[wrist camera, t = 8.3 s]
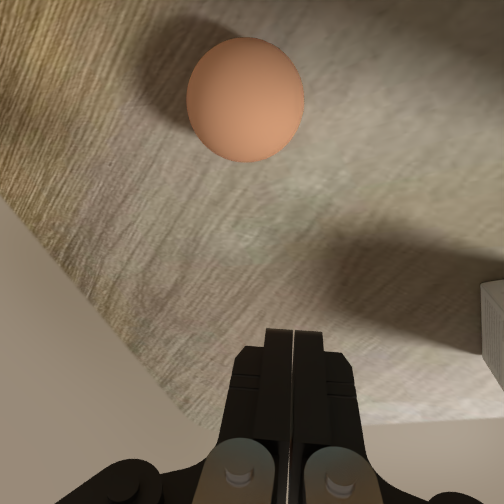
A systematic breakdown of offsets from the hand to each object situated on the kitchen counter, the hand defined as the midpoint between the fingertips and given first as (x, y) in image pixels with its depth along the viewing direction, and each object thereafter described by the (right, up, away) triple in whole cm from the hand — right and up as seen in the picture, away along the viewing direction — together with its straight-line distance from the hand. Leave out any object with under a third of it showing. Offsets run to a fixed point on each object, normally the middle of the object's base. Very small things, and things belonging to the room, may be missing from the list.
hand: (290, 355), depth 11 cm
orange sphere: (-1, +10, +8) cm, 13 cm away
